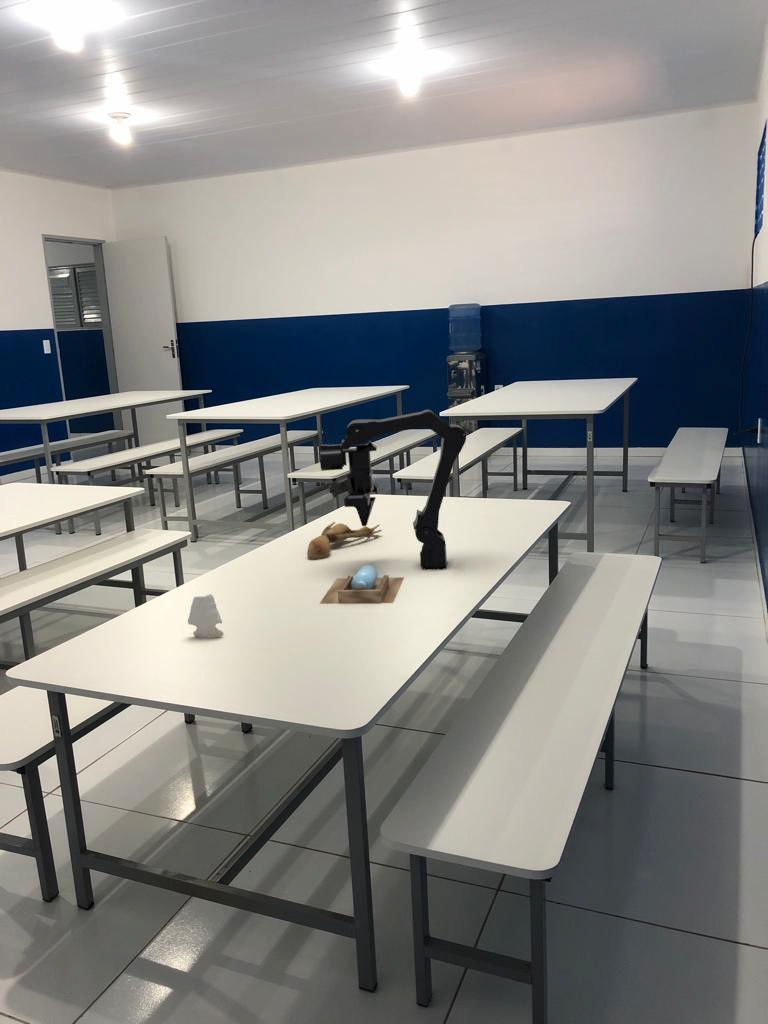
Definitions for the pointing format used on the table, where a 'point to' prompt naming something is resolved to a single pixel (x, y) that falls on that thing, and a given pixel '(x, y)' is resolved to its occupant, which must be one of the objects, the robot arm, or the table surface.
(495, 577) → the table surface
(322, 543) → the toy
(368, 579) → the bottle
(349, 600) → the rest
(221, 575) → the table surface
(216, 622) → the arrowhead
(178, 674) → the table surface
